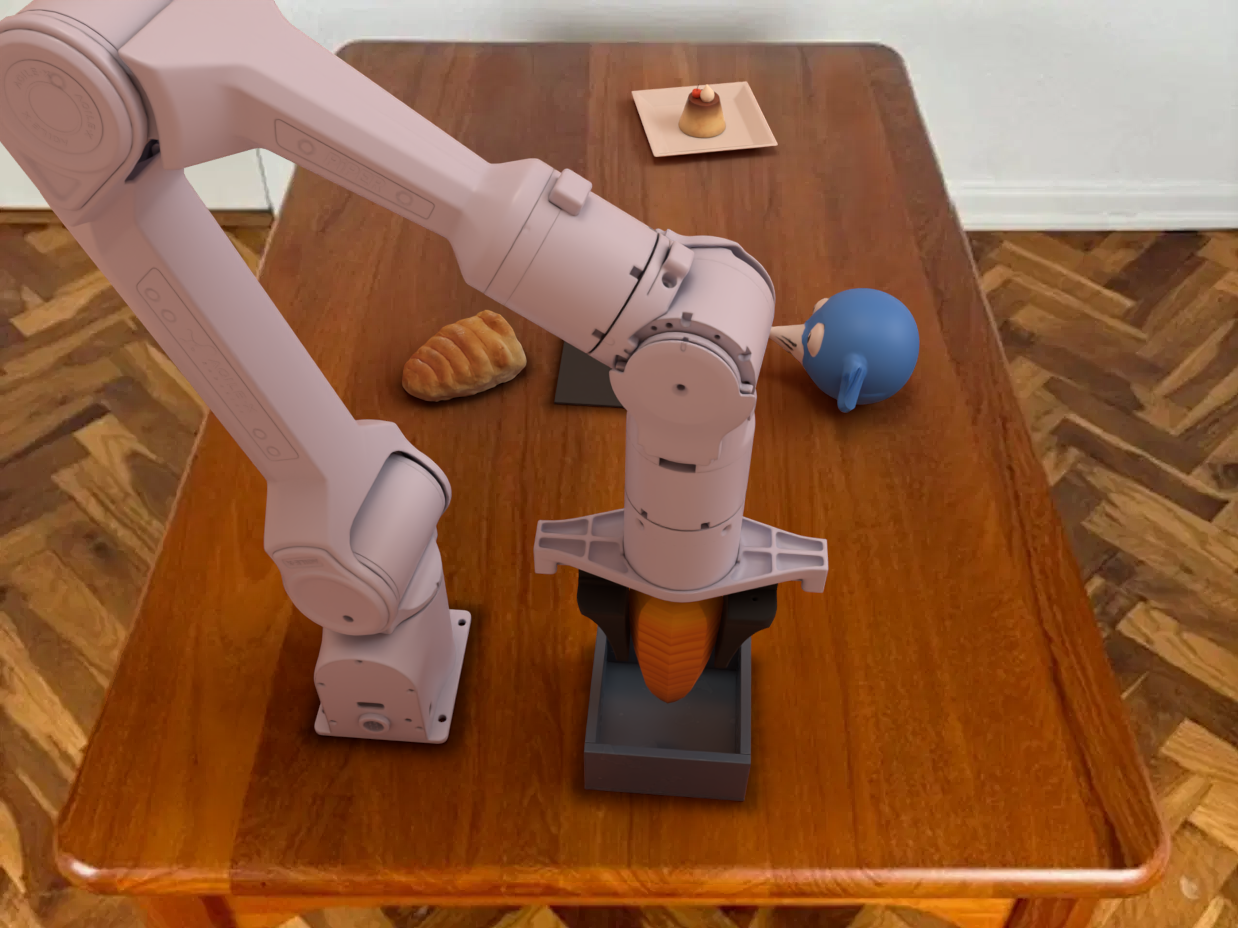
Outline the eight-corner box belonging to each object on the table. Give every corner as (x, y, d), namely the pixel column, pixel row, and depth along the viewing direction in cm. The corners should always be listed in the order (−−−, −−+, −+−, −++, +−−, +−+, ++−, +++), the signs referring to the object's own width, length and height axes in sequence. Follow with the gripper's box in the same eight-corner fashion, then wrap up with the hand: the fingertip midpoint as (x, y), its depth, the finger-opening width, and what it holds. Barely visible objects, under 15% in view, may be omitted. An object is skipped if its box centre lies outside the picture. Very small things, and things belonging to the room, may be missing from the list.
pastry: (432, 424, 89) (426, 386, 86) (385, 376, 93) (378, 339, 90) (534, 371, 93) (532, 334, 90) (485, 327, 97) (481, 290, 94)
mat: (685, 411, 90) (686, 409, 90) (554, 403, 91) (554, 401, 91) (691, 309, 98) (691, 308, 98) (570, 303, 99) (570, 301, 99)
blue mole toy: (764, 323, 97) (775, 238, 91) (912, 345, 96) (933, 261, 89) (741, 424, 89) (751, 339, 83) (902, 451, 88) (924, 366, 81)
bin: (744, 801, 69) (750, 764, 65) (584, 789, 69) (583, 751, 66) (745, 666, 75) (751, 626, 72) (598, 655, 75) (598, 615, 72)
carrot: (608, 691, 70) (610, 527, 59) (674, 648, 72) (687, 482, 61) (661, 752, 67) (673, 591, 56) (728, 706, 69) (752, 542, 58)
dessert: (630, 101, 121) (631, 57, 117) (746, 91, 122) (750, 47, 119) (653, 166, 113) (655, 121, 109) (777, 155, 114) (782, 110, 111)
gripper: (836, 433, 58) (802, 599, 68) (542, 415, 59) (550, 582, 69) (844, 545, 54) (806, 706, 64) (523, 524, 54) (535, 686, 64)
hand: (672, 649), depth 66 cm, fingers closed on carrot, 5 cm apart
